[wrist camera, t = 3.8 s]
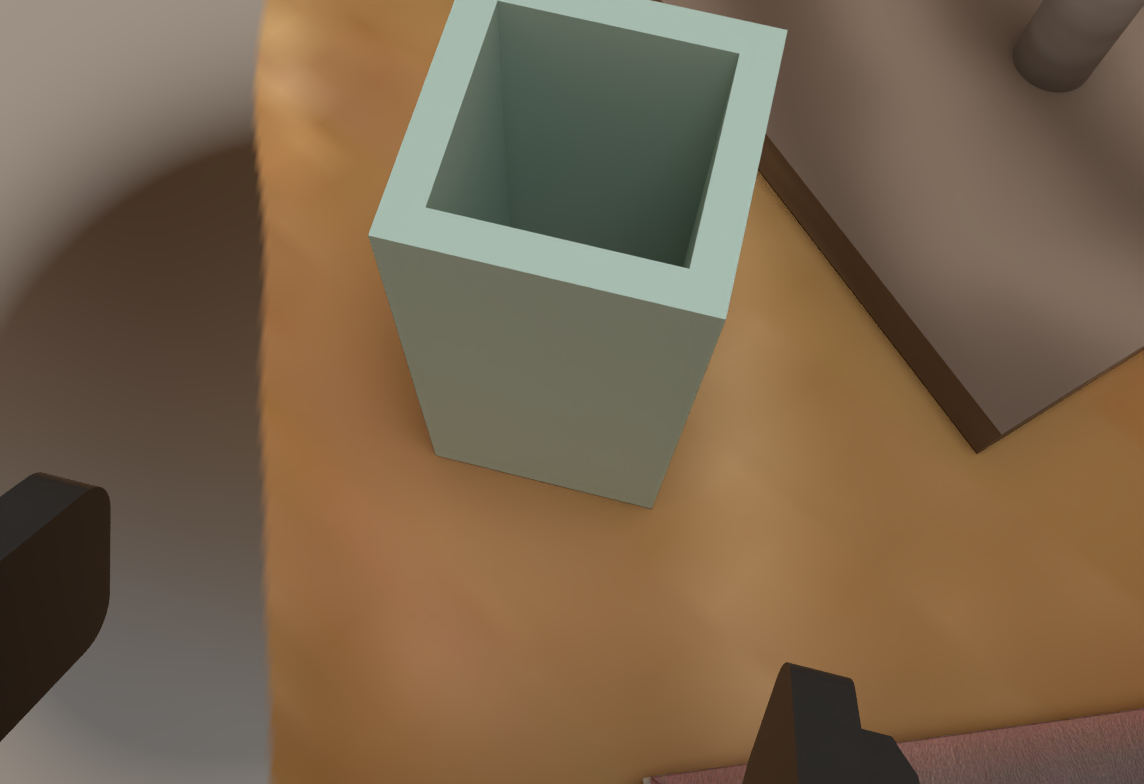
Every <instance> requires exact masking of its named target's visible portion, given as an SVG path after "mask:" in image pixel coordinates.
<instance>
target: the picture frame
mask: <svg viewBox="0 0 1144 784" xmlns="http://www.w3.org/2000/svg"><path fill="white" fill-rule="evenodd" d="M896 744H897V745H898V747H899V748H900V750H901V751H902V753H903V754H904V755H905V757H906V758H907V760H908V761H909V763H910V764H911V766H912V767H913V769H914V770H915V772H916V773H917V775H918V777H919V782H920V784H1144V708H1143V709H1136V710H1128V711H1121V712H1114V713H1107V714H1100V715H1092V716H1085V717H1078V718H1071V719H1064V720H1056V721H1049V722H1042V723H1035V724H1028V725H1020V726H1013V727H1006V728H999V729H992V730H984V731H977V732H970V733H963V734H956V735H948V736H941V737H934V738H927V739H920V740H912V741H905V742H898V743H896ZM747 764H748V763H747ZM747 764H740V765H732V766H725V767H718V768H711V769H704V770H696V771H689V772H682V773H675V774H668V775H660V776H653V777H646V778H643V784H742V783H743V779H744V775H745V771H746V767H747Z"/></svg>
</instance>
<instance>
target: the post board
mask: <svg viewBox="0 0 1144 784" xmlns="http://www.w3.org/2000/svg"><path fill="white" fill-rule="evenodd" d="M651 1H656V2H661V3H665V4H670V5H674V6H679V7H684V8H688V9H693V10H697V11H702V12H707V13H711V14H716V15H720V16H725V17H730V18H734V19H739V20H744V21H748V22H753V23H757V24H762V25H767V26H771V27H776V28H780V29H785V30H788V31H787V36H786V40H785V45H784V50H783V54H782V59H781V64H780V68H779V73H778V78H777V82H776V87H775V92H774V96H773V101H772V106H771V110H770V115H769V120H768V124H767V129H766V134H765V138H764V143H763V148H762V152H761V157H760V162H759V166H758V169H759V171H760V172H761V173H762V175H763V176H764V177H765V178H766V180H767V181H768V182H769V184H770V185H771V186H772V188H773V189H774V190H775V191H776V193H777V194H778V195H779V197H780V198H781V199H782V201H783V202H784V203H785V204H786V206H787V207H788V208H789V210H790V211H791V212H792V214H793V215H794V216H795V217H796V219H797V220H798V221H799V223H800V224H801V225H802V226H803V228H804V229H805V230H806V232H807V233H808V234H809V236H810V237H811V238H812V239H813V241H814V242H815V243H816V245H817V246H818V247H819V249H820V250H821V251H822V252H823V254H824V255H825V256H826V258H827V259H828V260H829V262H830V263H831V264H832V265H833V267H834V268H835V269H836V271H837V272H838V273H839V275H840V276H841V277H842V278H843V280H844V281H845V282H846V284H847V285H848V286H849V288H850V289H851V290H852V291H853V293H854V294H855V295H856V297H857V298H858V299H859V300H860V302H861V303H862V304H863V306H864V307H865V308H866V310H867V311H868V312H869V313H870V315H871V316H872V317H873V319H874V320H875V321H876V323H877V324H878V325H879V326H880V328H881V329H882V330H883V332H884V333H885V334H886V336H887V337H888V338H889V339H890V341H891V342H892V343H893V345H894V346H895V347H896V349H897V350H898V351H899V352H900V354H901V355H902V356H903V358H904V359H905V360H906V362H907V363H908V364H909V365H910V367H911V368H912V369H913V371H914V372H915V373H916V374H917V376H918V377H919V378H920V380H921V381H922V382H923V384H924V385H925V386H926V387H927V389H928V390H929V391H930V393H931V394H932V395H933V397H934V398H935V399H936V400H937V402H938V403H939V404H940V406H941V407H942V408H943V410H944V411H945V412H946V413H947V415H948V416H949V417H950V419H951V420H952V421H953V423H954V424H955V425H956V426H957V428H958V429H959V430H960V432H961V433H962V434H963V436H964V437H965V438H966V439H967V441H968V442H969V443H970V445H971V446H972V447H973V448H974V450H975V451H976V452H977V454H978V453H979V452H981V451H982V450H984V449H986V448H987V447H989V446H990V445H992V444H994V443H995V442H997V441H998V440H1000V439H1001V438H1003V437H1005V436H1006V435H1008V434H1009V433H1011V432H1013V431H1014V430H1016V429H1017V428H1019V427H1021V426H1022V425H1024V424H1025V423H1027V422H1029V421H1030V420H1032V419H1033V418H1035V417H1037V416H1038V415H1040V414H1041V413H1043V412H1045V411H1046V410H1048V409H1049V408H1051V407H1053V406H1054V405H1056V404H1057V403H1059V402H1061V401H1062V400H1064V399H1065V398H1067V397H1069V396H1070V395H1072V394H1073V393H1075V392H1077V391H1078V390H1080V389H1081V388H1083V387H1085V386H1086V385H1088V384H1089V383H1091V382H1093V381H1094V380H1096V379H1097V378H1099V377H1101V376H1102V375H1104V374H1105V373H1107V372H1109V371H1110V370H1112V369H1113V368H1115V367H1117V366H1118V365H1120V364H1121V363H1123V362H1125V361H1126V360H1128V359H1129V358H1131V357H1133V356H1134V355H1136V354H1137V353H1139V352H1141V351H1142V350H1144V0H651Z"/></svg>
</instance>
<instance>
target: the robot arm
mask: <svg viewBox="0 0 1144 784" xmlns="http://www.w3.org/2000/svg"><path fill="white" fill-rule="evenodd" d="M109 596H110V500H109V496H108V493H107V492H106V490H105V489H103V488H101V487H98V486H94V485H90V484H86V483H82V482H78V481H74V480H70V479H66V478H62V477H58V476H54V475H50V474H46V473H42V472H39V473H34V474H32V475H30V476H28V477H27V478H26V479H25V480H23V481H21V482H20V483H19V484H17V485H16V486H14V487H13V488H12V489H10V490H9V491H8V492H6V493H5V494H3V495H2V496H1V497H0V742H1V740H2V739H3V738H4V737H5V736H6V735H7V734H8V733H9V732H10V731H11V730H12V729H13V728H14V727H15V726H16V725H17V723H19V721H20V720H21V719H22V718H23V717H24V716H25V715H26V714H27V713H28V712H29V711H30V710H31V709H32V708H33V707H34V706H35V704H37V702H38V701H39V700H40V699H41V698H42V697H43V696H44V695H45V694H46V693H47V692H48V691H49V690H50V689H51V688H52V687H53V685H54V684H55V683H56V682H57V681H58V680H59V679H60V678H61V677H62V676H63V675H64V674H65V673H66V672H67V671H68V670H69V669H70V668H71V667H72V666H73V664H74V663H75V662H76V661H77V660H78V659H79V658H80V657H81V656H82V655H83V654H84V653H85V652H86V651H87V649H88V648H89V647H90V646H91V644H92V643H93V642H94V640H95V638H96V637H97V635H98V633H99V631H100V629H101V627H102V624H103V622H104V619H105V616H106V613H107V609H108V604H109ZM742 784H920V782H919V777H918V775H917V773H916V772H915V770H914V769H913V767H912V766H911V764H910V763H909V761H908V760H907V758H906V757H905V755H904V754H903V753H902V751H901V750H900V748H899V747H898V745H897V744H896V742H895V741H894V739H893V738H892V737H891V736H887V735H884V734H880V733H876V732H872V731H868V730H864V729H861V723H860V717H859V711H858V704H857V698H856V692H855V686H854V683H853V680H852V679H851V678H847V677H843V676H839V675H835V674H831V673H827V672H823V671H819V670H815V669H811V668H807V667H803V666H799V665H796V664H792V663H788V662H786V663H784V665H783V666H782V668H781V669H780V672H779V674H778V677H777V679H776V682H775V685H774V688H773V691H772V694H771V697H770V700H769V702H768V705H767V708H766V711H765V714H764V717H763V720H762V723H761V726H760V729H759V732H758V735H757V737H756V740H755V743H754V746H753V749H752V752H751V755H750V758H749V761H748V764H747V767H746V771H745V775H744V779H743V783H742Z"/></svg>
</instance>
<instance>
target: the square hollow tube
mask: <svg viewBox="0 0 1144 784" xmlns="http://www.w3.org/2000/svg"><path fill="white" fill-rule="evenodd" d="M787 31H788V30H785V29H780V28H776V27H771V26H767V25H762V24H757V23H753V22H748V21H744V20H739V19H734V18H730V17H725V16H720V15H716V14H711V13H707V12H702V11H697V10H693V9H688V8H684V7H679V6H674V5H670V4H665V3H661V2H656V1H651V0H455V1H454V4H453V7H452V9H451V12H450V15H449V17H448V20H447V23H446V26H445V28H444V31H443V34H442V36H441V39H440V42H439V45H438V47H437V50H436V53H435V55H434V58H433V61H432V64H431V66H430V69H429V72H428V74H427V77H426V80H425V83H424V85H423V88H422V91H421V93H420V96H419V99H418V102H417V104H416V107H415V110H414V112H413V115H412V118H411V121H410V123H409V126H408V129H407V131H406V134H405V137H404V140H403V142H402V145H401V148H400V150H399V153H398V156H397V159H396V161H395V164H394V167H393V169H392V172H391V175H390V178H389V180H388V183H387V186H386V189H385V191H384V194H383V197H382V199H381V202H380V205H379V208H378V210H377V213H376V216H375V218H374V221H373V224H372V227H371V229H370V232H369V235H368V236H369V240H370V243H371V246H372V249H373V253H374V256H375V259H376V262H377V266H378V269H379V272H380V275H381V279H382V282H383V285H384V288H385V292H386V295H387V298H388V301H389V305H390V308H391V311H392V315H393V318H394V321H395V324H396V328H397V331H398V334H399V337H400V341H401V344H402V347H403V350H404V354H405V357H406V360H407V363H408V367H409V370H410V373H411V376H412V380H413V383H414V386H415V390H416V393H417V396H418V399H419V403H420V406H421V409H422V412H423V416H424V419H425V422H426V425H427V429H428V432H429V435H430V438H431V442H432V445H433V448H434V451H435V455H437V456H441V457H445V458H449V459H453V460H457V461H461V462H465V463H469V464H473V465H477V466H481V467H485V468H489V469H493V470H497V471H501V472H505V473H509V474H513V475H517V476H521V477H525V478H529V479H533V480H537V481H542V482H546V483H550V484H554V485H558V486H562V487H566V488H570V489H574V490H578V491H582V492H586V493H590V494H594V495H598V496H602V497H606V498H610V499H614V500H618V501H622V502H626V503H630V504H634V505H638V506H642V507H646V508H650V509H652V507H653V505H654V502H655V499H656V497H657V494H658V492H659V489H660V487H661V484H662V482H663V479H664V476H665V474H666V471H667V469H668V466H669V464H670V461H671V458H672V456H673V453H674V451H675V448H676V446H677V443H678V441H679V438H680V435H681V433H682V430H683V428H684V425H685V423H686V420H687V418H688V415H689V412H690V410H691V407H692V405H693V402H694V400H695V397H696V394H697V392H698V389H699V387H700V384H701V382H702V379H703V377H704V374H705V371H706V369H707V366H708V364H709V361H710V359H711V356H712V354H713V351H714V348H715V346H716V343H717V341H718V338H719V336H720V333H721V330H722V328H723V325H724V323H725V320H726V316H727V311H728V307H729V302H730V297H731V293H732V288H733V283H734V279H735V274H736V269H737V265H738V260H739V255H740V251H741V246H742V241H743V237H744V232H745V227H746V223H747V218H748V213H749V209H750V204H751V199H752V195H753V190H754V185H755V181H756V176H757V171H758V166H759V162H760V157H761V152H762V148H763V143H764V138H765V134H766V129H767V124H768V120H769V115H770V110H771V106H772V101H773V96H774V92H775V87H776V82H777V78H778V73H779V68H780V64H781V59H782V54H783V50H784V45H785V40H786V36H787Z"/></svg>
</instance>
